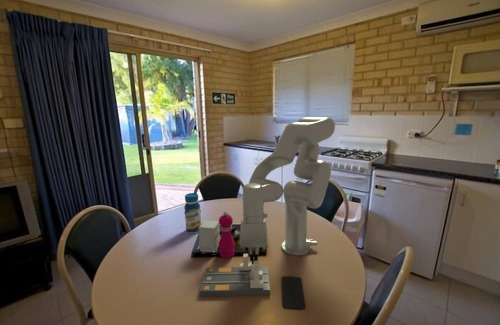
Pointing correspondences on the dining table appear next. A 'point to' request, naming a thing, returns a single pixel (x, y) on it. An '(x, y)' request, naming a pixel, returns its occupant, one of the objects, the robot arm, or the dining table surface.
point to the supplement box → (209, 236)
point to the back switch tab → (245, 263)
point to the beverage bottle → (192, 213)
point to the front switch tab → (256, 281)
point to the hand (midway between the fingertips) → (253, 262)
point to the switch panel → (232, 282)
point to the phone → (292, 293)
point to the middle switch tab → (256, 267)
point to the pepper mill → (226, 236)
